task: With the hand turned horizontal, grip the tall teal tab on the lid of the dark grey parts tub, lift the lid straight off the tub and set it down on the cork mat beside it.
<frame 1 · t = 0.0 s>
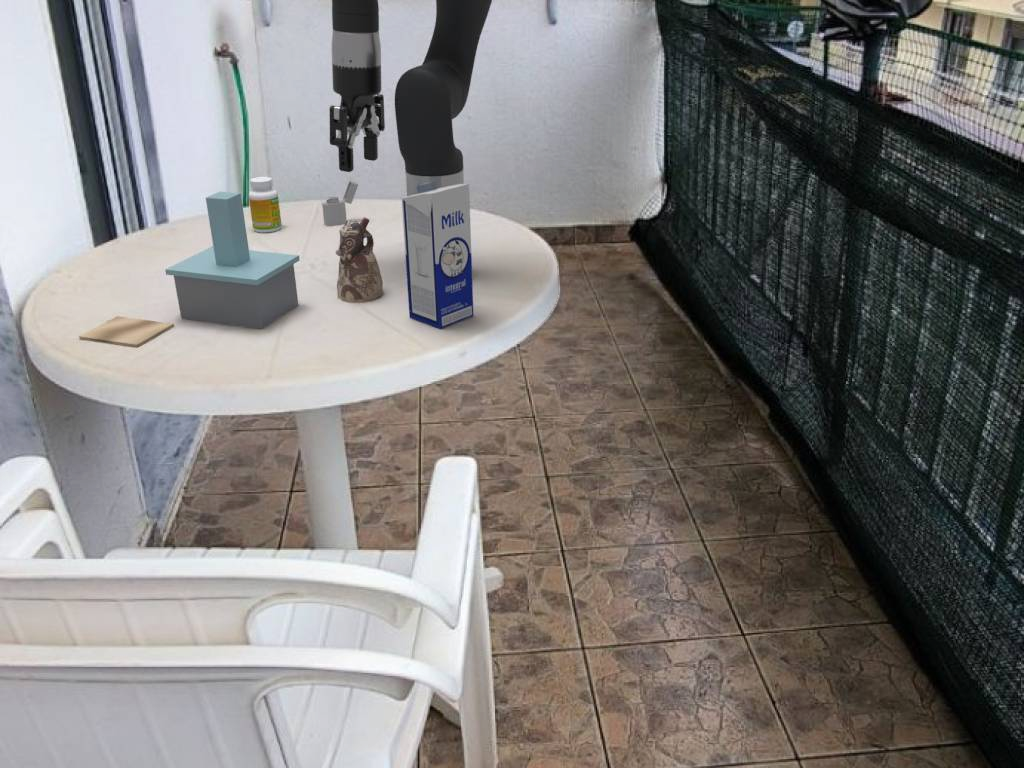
hand: (359, 165, 153), 17 cm above the table, tool pointing down, fingers open, 8 cm apart
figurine: (360, 295, 148), on the table
milk carton: (441, 318, 139), on the table
part b: (223, 305, 143), point 1 cm above the table, touching tub
lighter: (343, 223, 185), on the table
part a: (257, 309, 141), point 1 cm above the table, touching tub
lid: (234, 267, 139), point 7 cm above the table, touching tub
supplement bottle: (267, 230, 181), on the table
mat: (127, 332, 135), on the table
tub: (240, 311, 142), on the table
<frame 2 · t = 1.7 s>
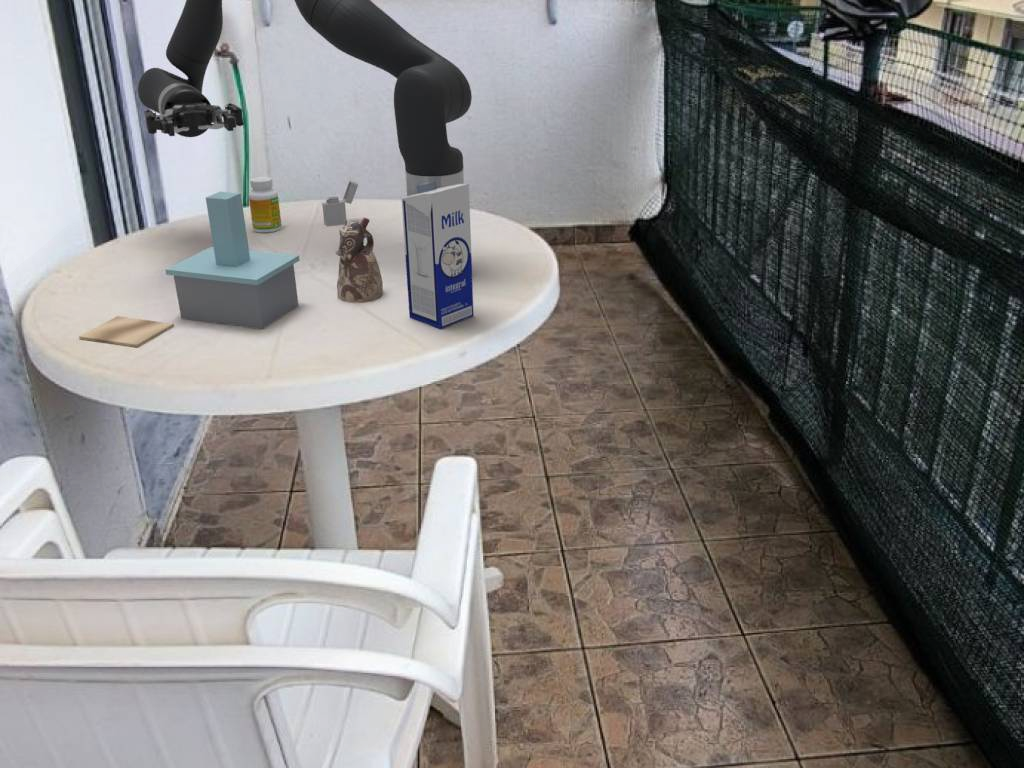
hand: (201, 126, 140), 26 cm above the table, tool horizontal, fingers open, 8 cm apart
nothing on the table moved.
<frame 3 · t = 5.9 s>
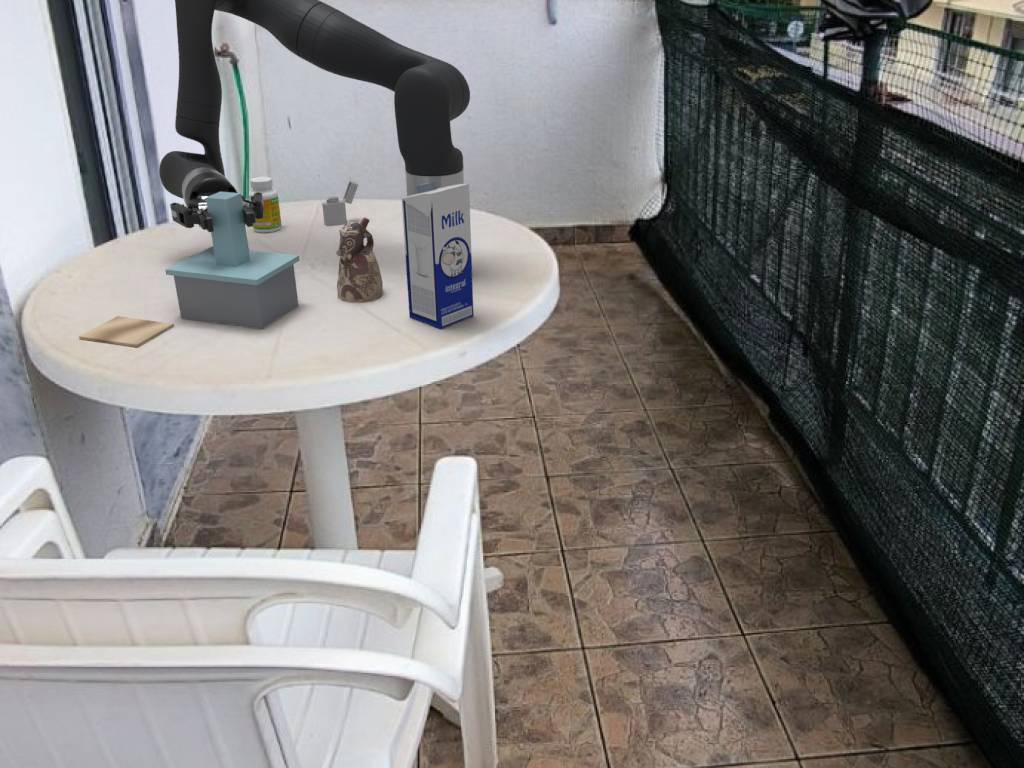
hand: (230, 222, 134), 14 cm above the table, tool horizontal, fingers closed on lid, 5 cm apart
lid: (234, 267, 139), point 7 cm above the table, touching gripper, tub
everything else where it was.
when the fingers open (9 cm above the table, at t = 12.8 s): lid drops 1 cm, resting on mat.
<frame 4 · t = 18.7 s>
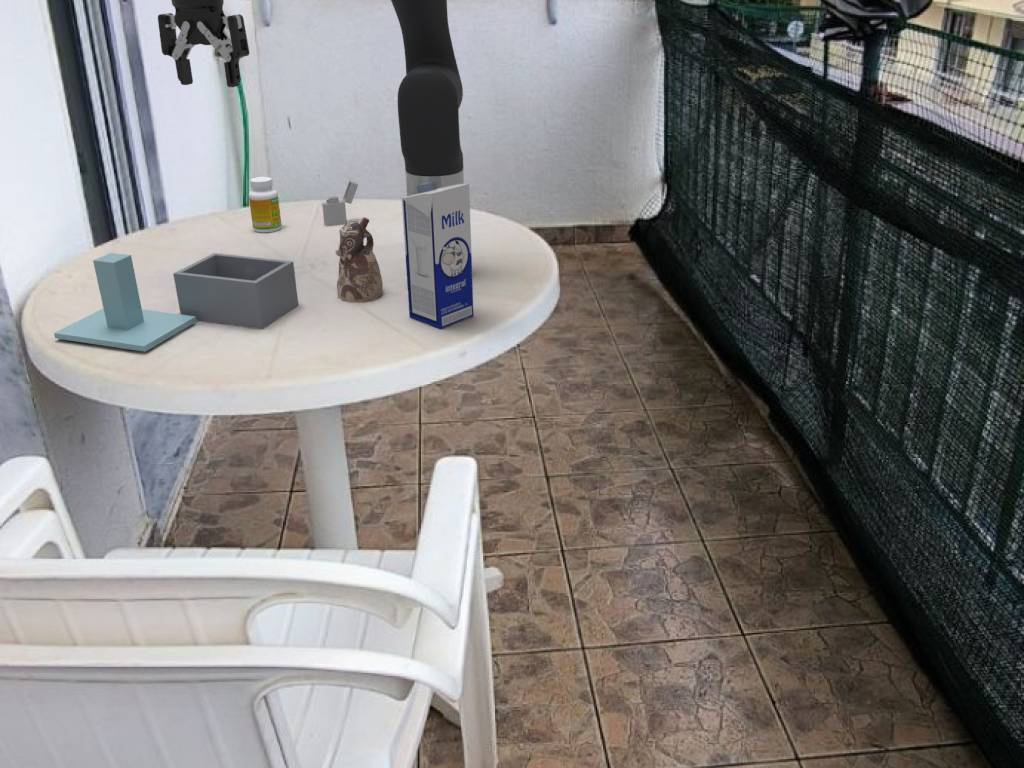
hand: (210, 85, 147), 30 cm above the table, tool pointing down, fingers open, 8 cm apart
lid: (127, 329, 135), resting on mat
everything else where it was.
at the end: lid inside the target area (0.1 cm from its centre), resting on mat; lid tilted 0°; the gripper is holding nothing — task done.
